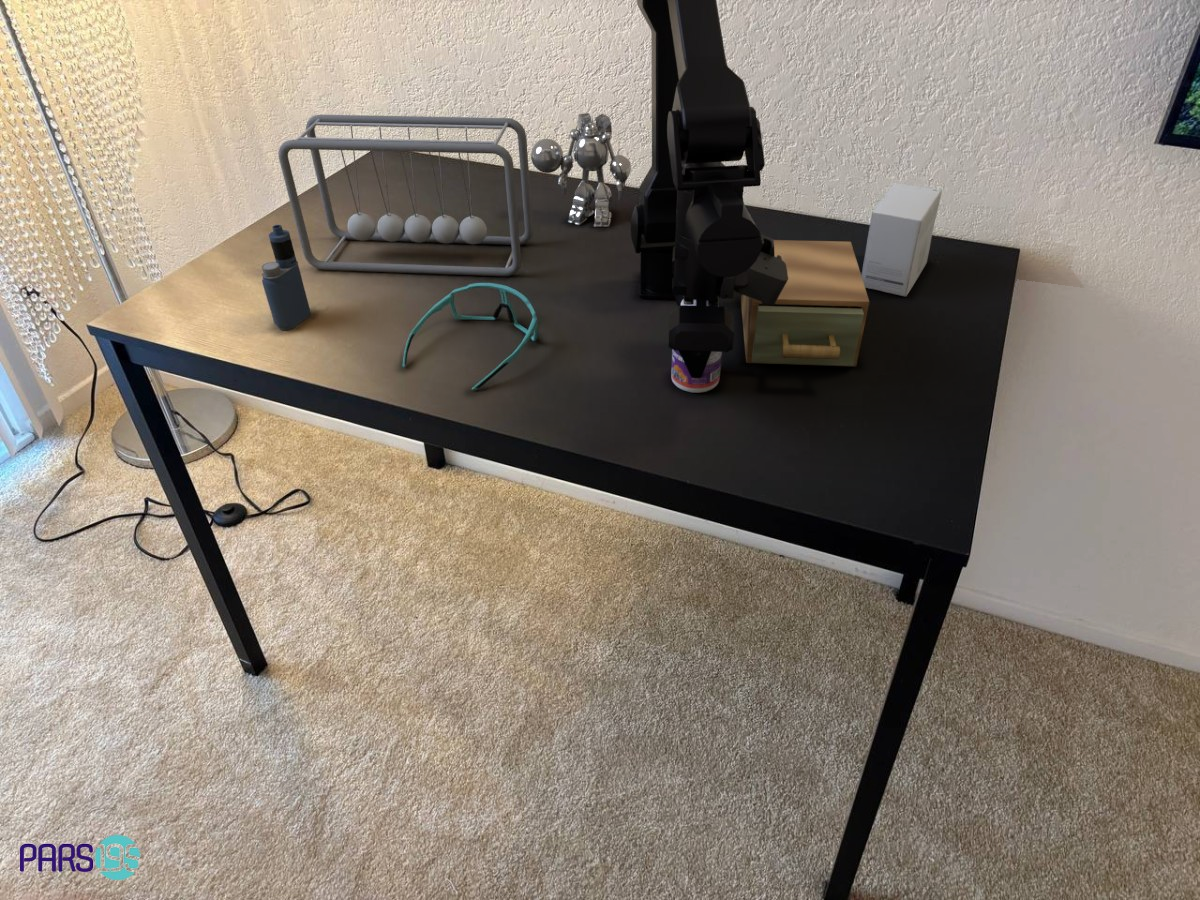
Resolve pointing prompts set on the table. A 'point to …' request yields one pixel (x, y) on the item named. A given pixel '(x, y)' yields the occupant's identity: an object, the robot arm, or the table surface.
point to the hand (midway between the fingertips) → (696, 361)
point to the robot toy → (585, 167)
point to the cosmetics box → (900, 238)
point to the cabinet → (813, 283)
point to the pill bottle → (695, 384)
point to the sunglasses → (511, 315)
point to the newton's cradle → (415, 225)
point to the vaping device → (284, 283)
